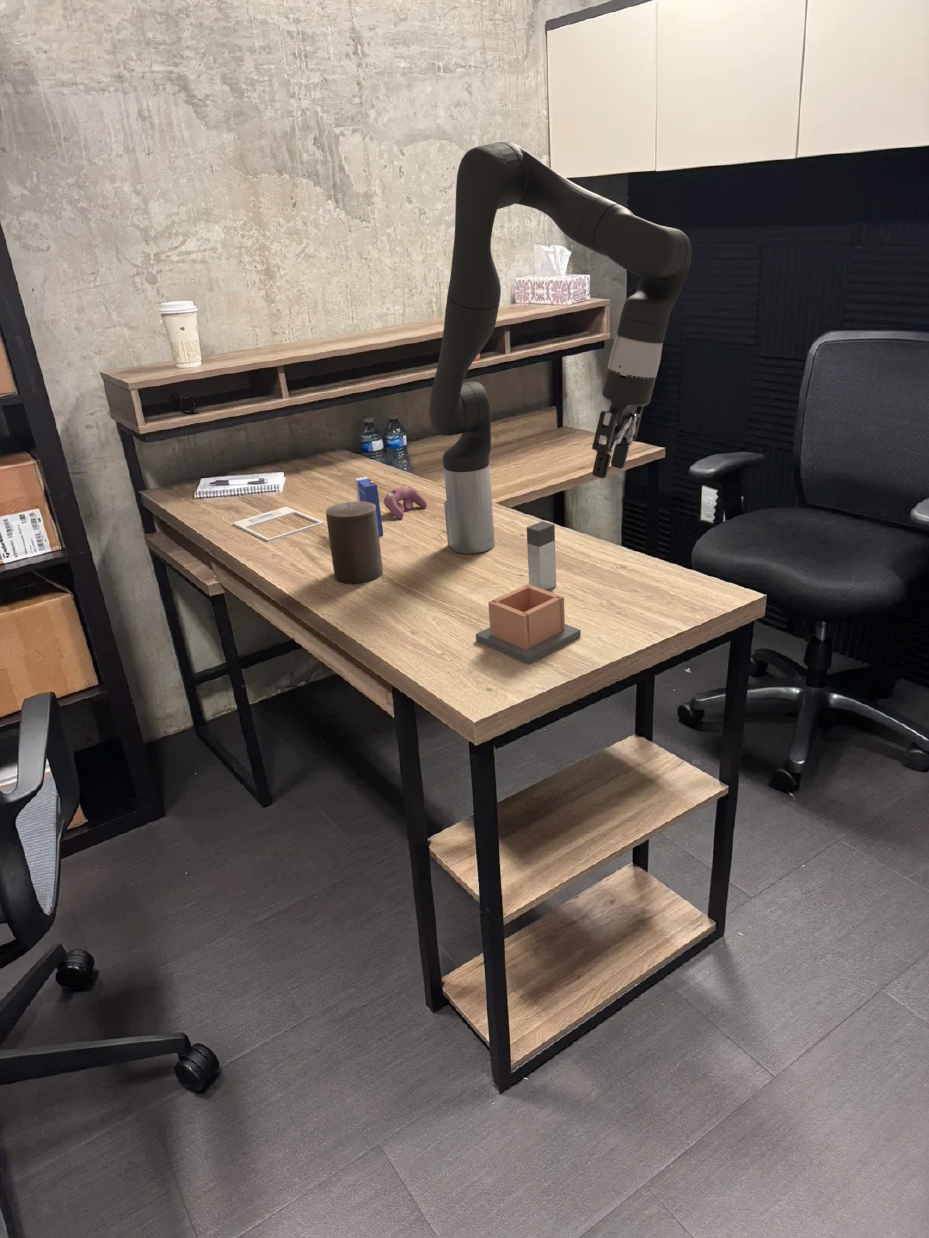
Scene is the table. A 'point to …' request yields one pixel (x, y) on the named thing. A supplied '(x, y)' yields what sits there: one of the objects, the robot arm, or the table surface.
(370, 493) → the walkman
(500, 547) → the table surface
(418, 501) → the video game controller
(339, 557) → the pillar candle
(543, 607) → the box
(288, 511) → the photo frame
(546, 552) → the grey block
